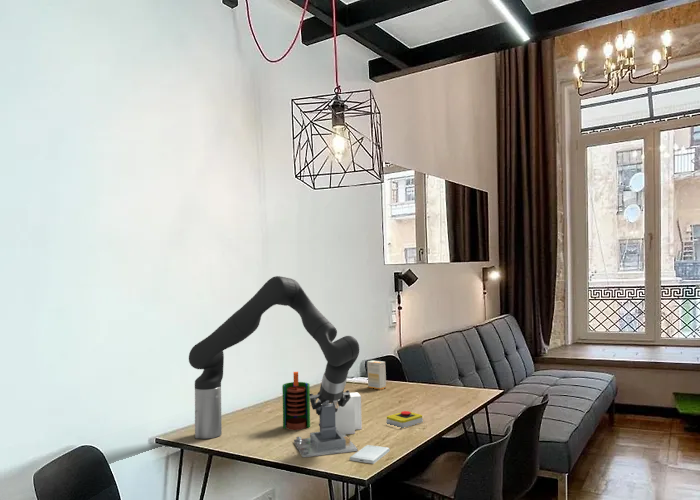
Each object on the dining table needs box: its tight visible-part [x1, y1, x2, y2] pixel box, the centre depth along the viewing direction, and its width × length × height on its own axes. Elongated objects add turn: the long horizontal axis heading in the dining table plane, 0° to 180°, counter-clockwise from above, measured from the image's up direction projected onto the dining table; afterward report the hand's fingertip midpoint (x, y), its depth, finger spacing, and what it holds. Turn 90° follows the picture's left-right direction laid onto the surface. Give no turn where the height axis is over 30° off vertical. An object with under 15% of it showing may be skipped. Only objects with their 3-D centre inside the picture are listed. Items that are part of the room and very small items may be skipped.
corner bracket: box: [332, 391, 363, 435], centre depth 197 cm, size 11×11×12 cm
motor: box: [281, 371, 311, 431], centre depth 202 cm, size 10×9×20 cm
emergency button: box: [385, 410, 423, 429], centre depth 203 cm, size 9×4×15 cm
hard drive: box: [349, 444, 390, 465], centre depth 169 cm, size 2×8×12 cm
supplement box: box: [366, 359, 387, 391], centre depth 265 cm, size 8×5×13 cm, turn 46°
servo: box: [318, 403, 336, 438], centre depth 179 cm, size 4×6×11 cm
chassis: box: [293, 430, 359, 458], centre depth 178 cm, size 18×16×3 cm
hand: (325, 412), depth 181 cm, fingers closed on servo, 4 cm apart
